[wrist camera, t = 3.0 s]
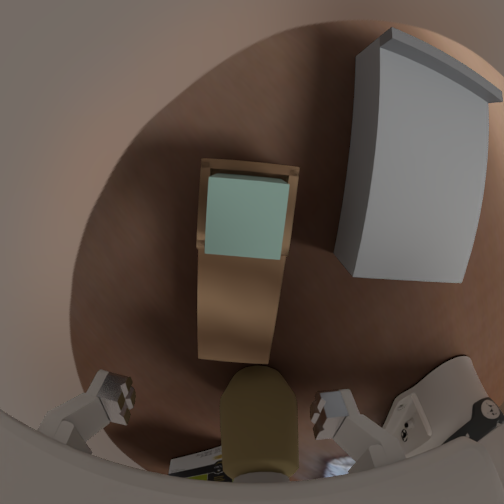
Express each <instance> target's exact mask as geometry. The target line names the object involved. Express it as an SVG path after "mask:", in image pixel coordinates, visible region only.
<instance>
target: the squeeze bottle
mask: <svg viewBox="0 0 504 504" xmlns="http://www.w3.org/2000/svg"><path fill="white" fill-rule="evenodd" d="M220 428H221V448H222V465H223V472H224V473H225V474H226V475H227V476H229V477H230V478H231V479H233V480H234V481H233V482H235V483H274V482H289V477H291V476H292V475H293V474H294V473H295V472H296V471H297V469H298V468H299V453H298V414H297V400H296V396H295V394H294V392H293V391H292V389H291V388H290V386H289V385H288V384H287V382H286V381H285V379H284V378H283V376H282V375H281V374H280V373H279V372H278V371H277V370H275V369H273V368H270V367H268V366H258V365H256V366H250V367H246V368H244V369H242V370H240V371H238V372H237V373H236V374H235V375H234V376H233V378H232V379H231V381H230V383H229V384H228V386H227V388H226V390H225V391H224V393H223V395H222V396H221V399H220Z"/></svg>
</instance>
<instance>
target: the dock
mask: <svg viewBox="0 0 504 504" xmlns="http://www.w3.org/2000/svg"><path fill="white" fill-rule="evenodd" d="M494 102H503V98H502V91H500V90H499V89H498V88H497V87H495V86H494V85H493V84H491V83H490V82H489V81H487V80H486V79H485V78H483V77H482V76H481V75H479V74H478V73H476V72H475V71H473V70H472V69H470V68H469V67H467V66H466V65H464V64H463V63H461V62H459V61H458V60H456V59H455V58H453V57H451V56H450V55H448V54H446V53H444V52H443V51H441V50H439V49H437V48H435V47H433V46H432V45H430V44H428V43H426V42H424V41H422V40H420V39H418V38H416V37H413V36H411V35H409V34H407V33H405V32H402V31H400V30H398V29H395V28H393V27H391V28H390V29H389V30H387V31H386V32H385V33H384V34H382V35H381V36H380V37H379V38H377V39H376V40H375V41H374V42H372V43H371V44H370V45H369V46H368V47H366V48H365V49H364V50H363V51H362V52H360V53H359V54H358V55H357V56H356V63H355V89H354V106H353V119H352V131H351V141H350V150H349V159H348V167H347V175H346V182H345V189H344V196H343V203H342V209H341V215H340V221H339V227H338V232H337V238H336V243H335V248H334V255H335V256H336V257H337V258H338V259H339V261H340V262H341V263H342V264H343V266H344V267H345V268H346V269H347V270H348V272H349V273H350V274H351V275H352V277H361V278H376V279H393V280H410V281H429V282H449V283H462V280H463V277H464V274H465V271H466V267H467V264H468V261H469V257H470V254H471V250H472V246H473V243H474V239H475V234H476V230H477V226H478V221H479V216H480V211H481V205H482V199H483V193H484V186H485V178H486V169H487V157H488V137H489V111H488V103H494Z"/></svg>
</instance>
